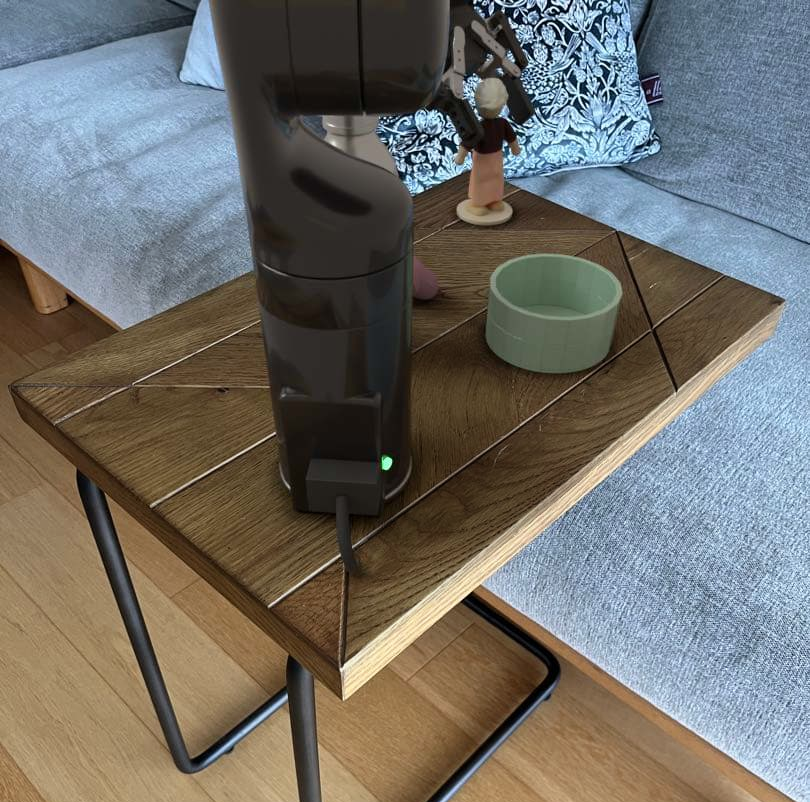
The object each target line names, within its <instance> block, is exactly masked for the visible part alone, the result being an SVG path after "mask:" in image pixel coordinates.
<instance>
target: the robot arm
mask: <svg viewBox="0 0 810 802" xmlns="http://www.w3.org/2000/svg"><path fill="white" fill-rule="evenodd" d="M208 7H209V12H210V17H211V23H212V29H213V35H214V42H215V47H216V52H217V58H218V62H219V66H220V67H219V68H220V73H221V77H222V83H223V87H224V93H225V97H226V102H227V108H228V113H229V118H230V124H231V129H232V133H233V140H234V145H235V146H234V147H235V151H236V158H237V164H238V172H239V179H240V186H241V192H242V199H243V206H244V211H245V217H246V225H247V230H248V231H247V232H248V239H249V246H250V252H251V259H252V266H253V274H254V282H255V288H256V297H257V306H258V312H259V320H260V327H261V335H262V342H263V343H262V344H263V349H264V356H265V364H266V370H267V378H268V386H269V387H268V388H269V392H270V399H271V408H272V415H273V422H274V430H275V437H276V443H277V450H278V451H277V452H278V458H279V465H278V467H279V475H280V480H281V483H282V486H283V487H284V489H285V491H286V492H287V494H288V495H290V499H291V507H292V510H293V511H297V512H310V513H326V514H335V523H336V524H335V525H336V527H335V528H336V537H337V544H338V551H339V554H340V558H341V560H342V563H343V566H344V569H345V571H346V572H348V573H352V572H355V571H356V570H358V569H359V565H358V563H357V559H356V555H355V553H354V549H353V545H352V539H351V529H350V515H356V516H370V517H371V516H372V517H381V516H383V514H384V509H385V506H386V505H387V504H389V503H390V502H392V501H393V500H395V499H396V498H397V497H398V496H400V495H401V494H402V492H403V491H404V490H405V489H406V487H407V486H408V484H409V482H410V480H411V477H412V474H413V473H412V472H413V471H412V470H413V457H412V376H413V375H412V371H413V370H412V367H413V365H412V361H413V298H414V297H413V257H414V249H415V248H414V247H415V246H414V240H415V205H414V201H413V197H412V194H411V191H410V188H408V186H407V185H406V183H405V182H404V181H403V180H402V179H401V178H400V176H399V177H397V176H396V175H395V174H393V173H392V172H390V171H389V170H387V169H385V168H383V167H381V166H379V165H377V164H375V163H372V162H370V161H367V160H365V159H362V158H360V157H357V156H355V155H352V154H350V153H347V152H345V151H343V150H341V149H339V148H337V147H335V146H334V145H332V144H330V143H329V142H327V141H325V140H324V138H323V137H321V136H320V135H318V134H317V133H316V132H315V131H314V130H313V129H311V128H310V127H309V126H308V125H307V124H306V123H305V122H304V120H303V119H302V118H301V117H322V118H323V117H362V116H363V114H364V112H365V116H367V117H374V116H379V117H393V116H401V115H407V114H413V113H417V112H419V111H421V110H423V109H425V110H426V111H427V112H428V113H429V112H431V113H432V112H433V111H434V110H440V112H442V113H443V114H447V116H448V118H449V120H450V122H451V124H452V125H453V128H455V131H456V132H457V134H458V137H459V138H460V139H461V140H463V141H464V142H465V144H466V145H467V146H468V147H470V146H472V145H475V144H476V143H477V142H478V141H479V140H480V139H481V138H483V136H484V129H483V127H482V125H481V124H480V122H479V121H480V120H479V118H478V117H477V114H476V113H475V111H474V109H473V106H472V105H471V103H470V102H469V99H468V97H465V98H464V95H465V94H464V77H465V76H472V75H475V76H477V77H478V78H479V79H480V80H482V81H483V80H485V79H486V78H497V79H500V80H501V81H502V83H503V84H504V86H505V87H506V91H507V94H508V99H507V104H506V105H505V106H506V107H507V110H508V111H509V113H510V115H511V116H512V119H513V121H514V123H515V124H516V125H517V126H522V125H524V124H525V123H527V122H528V121H529V120H530V119H531V118H533V117H534V115H535V108H534V105H533V102H532V100H531V99H530V96H529V94H528V92H527V90H526V89H525V87H524V85H523V83H522V81H521V74H522V73H523V71H524V70H525V69H526V68H527V67H528V66H529V59H528V57H527V56H526V54H525V52H524V50H523V47H522V46H521V44H520V42H519V40H518V38H517V35H516V34H515V31H513V28H512V26H511V24H510V21H509V20H508V18H507V16H506V14H505V12H504V11H503V10H501V9H497V10H496V11H495V12H494V13H493V14H492V15H491V16H490V17H487V18H484V17H482V16H481V15H480V14H479V12H478V11H477V10H476V8H475V6H474V0H208ZM509 52H510V54H511V56H512V58H513V60H514V61H512V60H511V58H509V56H508V53H509ZM489 54H490V55H491V57H490V58H489V59H488V57H489ZM497 68H500V69H501V71H502V74H501V73H500V72H499V71H498V70H496V69H497Z"/></svg>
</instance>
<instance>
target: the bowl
mask: <svg viewBox="0 0 810 802" xmlns="http://www.w3.org/2000/svg"><path fill="white" fill-rule="evenodd" d="M623 295H624V293H623V288H622V284H621V281H620V280H619V279H618V278H617V277H616V275H615V274H614V273H613V272H612V271H610V270H609V269H607V268H606V267H604V266H602V265H601V264H598V263H596V262H593V261H591V260H588V259H585V258H582V257H578V256H573V255H568V254H561V253H535V254H534V253H533V254H526V255H522V256H519V257H516V258H511V259H509V260H507V261H505V262H504V263H502V264H500V265H498V266H497V267H496V268H495V270H494V271H493V272H492V274H491V275H490V278H489V287H488V297H487V298H488V299H487V301H488V302H487V310H486V322H485V340H486V343H487V345H488V347H489V349H490V350H491V351H492V352H493V353H494V354H495V355H496V356H497V357H498V358H500V359H502V360H503V361H504V362H506V363H509V364H510V365H513V366H514V367H516V368H520V369H522V370H527V371H531V372H536V373H543V374H569V373H575V372H580V371H584V370H586V369H587V370H588V369H589V368H592V367H593V366H596V365H597V364H599V363H601V362H602V361H603V360H604V359H605V358H606V357H607V356H608V355H609V352H610V350H611V346H612V344H613V341H614V336H615V331H616V326H617V322H618V317H619V312H620V309H621V303H622V300H623Z"/></svg>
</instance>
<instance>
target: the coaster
mask: <svg viewBox="0 0 810 802" xmlns="http://www.w3.org/2000/svg"><path fill="white" fill-rule="evenodd" d="M470 201H471V198H468V199H465V200H463V201H461V202H460V203H458V205H457V206H456V215H457V217H458V218H459V219H461V220H462V221H464V222H466V223H468V224H472V225H477V226H497V225H500V224H504V223H506V222H508V221H510V220H511V218H512V216H513V211H514V209H513V208H512V206H511V205H510V204H509V203H507V202H505V201H503V200H502V201H503V204H504V207H505V209H504V210H501V211H493V210H491V209H490V208H488V207H487V206H486V205H485V207H486V208H487V210H488V214H487V215H484V216H476V215H474V214H472V213H470V212H468V211H466V210H465V207H466V205H467V204H468V203H469V202H470Z"/></svg>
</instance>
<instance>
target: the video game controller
mask: <svg viewBox="0 0 810 802" xmlns="http://www.w3.org/2000/svg"><path fill="white" fill-rule="evenodd" d="M438 290H439V279H438V276H437V274H436V273H435V272H433V271H432V270H430V269H429V268H427V267H426V266H425V265H424V264H423V263H422V261H420V260H419V259H418V258H416V257H415V256H413V298H416V299H417V300H422V301H428V300H431V299H433V298H434V297H435V296H436V295H437V294H438Z"/></svg>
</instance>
